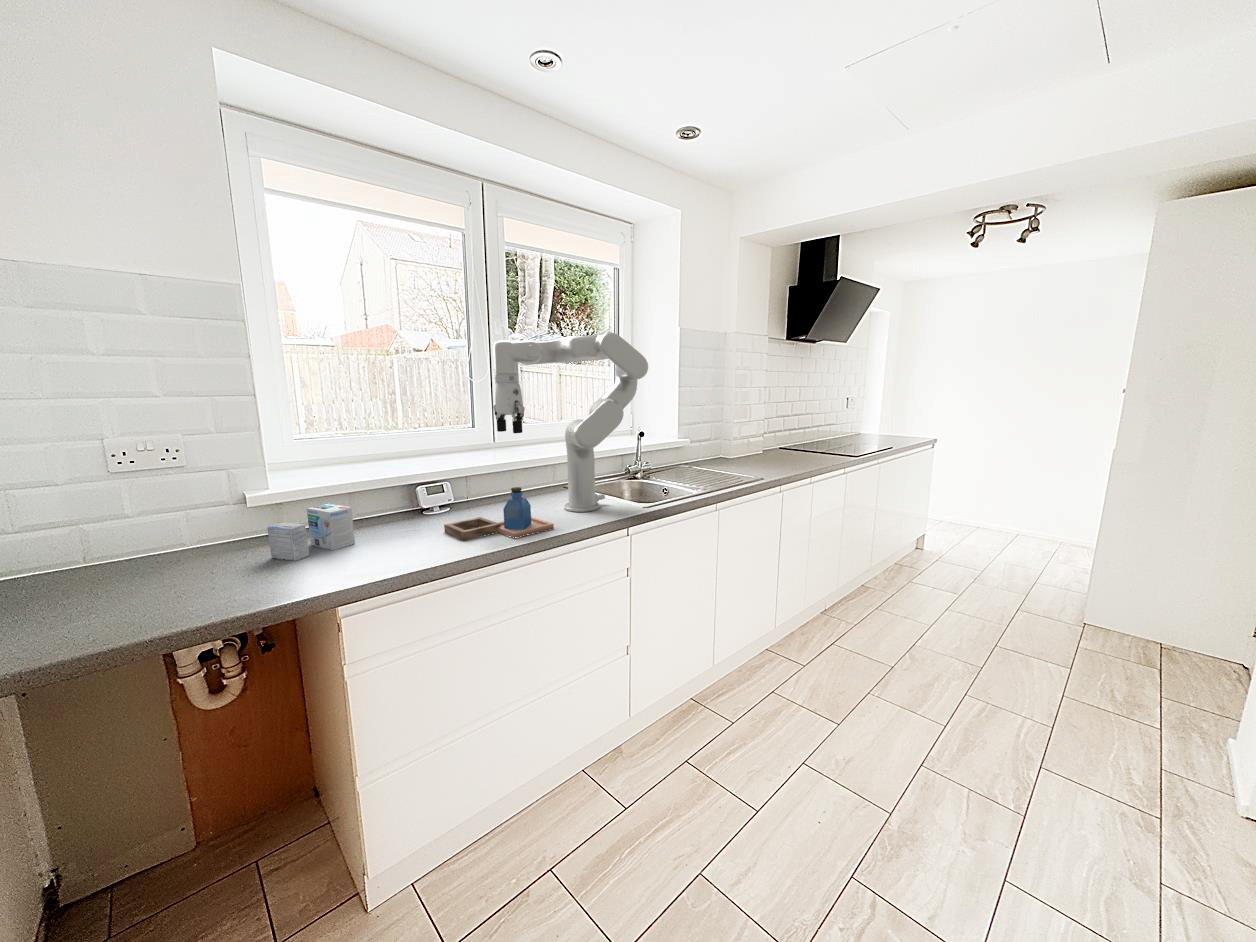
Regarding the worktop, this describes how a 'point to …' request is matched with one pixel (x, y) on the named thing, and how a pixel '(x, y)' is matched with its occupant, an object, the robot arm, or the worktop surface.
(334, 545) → the light bulb box
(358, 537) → the worktop surface
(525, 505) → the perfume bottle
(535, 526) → the dish
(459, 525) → the socket block
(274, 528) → the medicine box
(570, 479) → the robot arm
